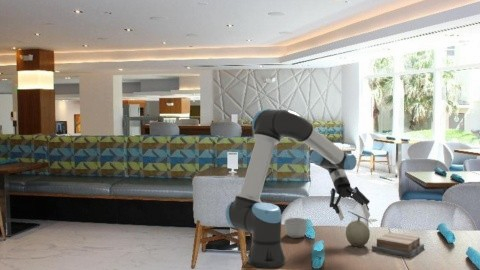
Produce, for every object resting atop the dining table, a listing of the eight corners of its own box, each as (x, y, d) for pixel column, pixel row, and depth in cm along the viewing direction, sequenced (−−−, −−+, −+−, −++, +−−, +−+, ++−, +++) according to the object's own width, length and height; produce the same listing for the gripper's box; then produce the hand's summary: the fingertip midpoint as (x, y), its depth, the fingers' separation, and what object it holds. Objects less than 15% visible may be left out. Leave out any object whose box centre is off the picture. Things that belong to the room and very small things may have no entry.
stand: (410, 257, 208) (410, 245, 207) (371, 250, 218) (372, 239, 218) (424, 248, 221) (424, 237, 220) (387, 241, 231) (387, 231, 231)
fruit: (372, 250, 219) (372, 216, 218) (345, 248, 221) (346, 215, 220) (370, 243, 229) (371, 211, 228) (345, 242, 231) (345, 210, 230)
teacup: (307, 239, 235) (307, 222, 235) (284, 239, 236) (284, 222, 235) (304, 231, 249) (304, 216, 249) (282, 231, 249) (283, 216, 249)
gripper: (360, 184, 249) (376, 220, 235) (314, 186, 241) (328, 224, 228) (365, 175, 243) (382, 211, 230) (319, 177, 236) (333, 215, 223)
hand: (355, 218), depth 229 cm, fingers open, 13 cm apart
